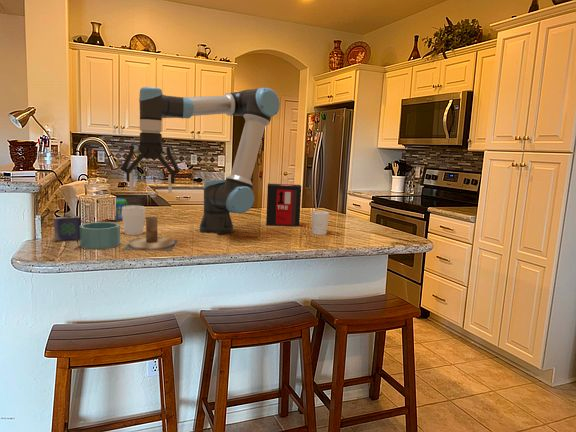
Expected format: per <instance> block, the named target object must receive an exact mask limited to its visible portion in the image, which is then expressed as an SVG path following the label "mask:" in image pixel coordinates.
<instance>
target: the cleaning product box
mask: <svg viewBox="0 0 576 432" xmlns="http://www.w3.org/2000/svg"><path fill="white" fill-rule="evenodd" d="M266 190H267V194H266V195H267V198H266V199H267V200H266V218H265V219H266V222H265V226H271V227H273V226H274V227H276V226H278V227H299V228H300V224H301V223H300V220H301V206H302V205H301V204H302V203H301V201H302V185H301V184H292V183H291V184H290V183H267V189H266Z"/></svg>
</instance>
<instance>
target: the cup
mask: <svg viewBox="0 0 576 432" xmlns="http://www.w3.org/2000/svg"><path fill="white" fill-rule="evenodd" d="M145 221H146V208H145V206H144V205H135V204H134V205H132V204H131V205H128V206H125V205H124V206H123V207H122V224H123V230H124V234H125V235H126V236H139V235H142V234H143V233H144V225H145Z"/></svg>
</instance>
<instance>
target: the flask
mask: <svg viewBox="0 0 576 432" xmlns="http://www.w3.org/2000/svg"><path fill="white" fill-rule="evenodd" d="M69 213H70V212H65V213H64V216H62V217H61V216H60V217H59V216H58V217H54V218H53V229H54V230H53V231H54V232H53V233H54V241H55V242H70V241H80V227H79V226H81V225H82V218H81V217H80V216H78V215H74V216H73V215H70V214H69Z"/></svg>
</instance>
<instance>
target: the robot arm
mask: <svg viewBox="0 0 576 432" xmlns="http://www.w3.org/2000/svg"><path fill="white" fill-rule="evenodd" d="M279 98H280V97H278V94H277V93H276V91H274V90H273V89H272V88H270V87H259V88H251V89H250V88H249V89H243V90H239V91H236V92H227V93H225V94H223V95H206V96H188V97H187V96H186V97H185V96H173V95H166V94H163V90H162V89H161V88H159V87H154V86H143V87H141V88H140V90H139V99H138V101H139V131H140V132H139V144H138V145H134V144H131V145H130V148H129V152H128V154H127V156H126V158H125V160H124V162H123V163H122V166H121V167H120V170H121V171H123V172H125V173H126V182H127V183H128V182H129V192H133V191H135V190H134V186H135V183H134V172H133V171H134V169H135V168H136V167H137V166H138V165H139V164H140V162H141V161H143V159H144V158H145V159H152V160H156V159H158V161H160V162H161V164H162V165H163V166H164V167H165V169H166V170H167V171H168V172H169V174H168V175H167V176H168V182H167V183H168V185H167V186H168V188H167V189H168V191H167V192H168V193H170V194H171V193H172V192H173V188H172V187H173V186H172V185H173V184H175V181H176V174H180V172H181V170H180V168H179V166H178V164H177V161H176V159H175V158H174V156H173V153H172V148H171V147H170V146H167V147H163V145H162V144H163V135H162V133H161V132H162V131H163V125H162V122H163V119H183V120H184V119H191V117H195V116H196V117H197V116H210V115H211V116H212V115H226V116H240V117H243V118H244V121H245V122H244V126H243V130H242V133H241V136H240V141H239V143H238V144H239V145H238V147H237V151H236V155H235V158H234V162H233V164H232V165H233V166H232V168H231V173H230V174H229V175H228V176H227V177H225V179H211V180H210V179H209V180H206V181H204V183H203V214H202V218H201V221H200V223H199V232H200V233H203V234H217V235H225V234H231V233H233V232H234V223H233V220H232V217H231V213H232V214H245V213H246V212H248V211H250V209H251V208H252V207H253V205H254V203H255V194H254V191H253V190H252V189H253V185H254V184H253V183H252V181H251V179H252V177H253V176H252V175H253V174H254V173H253V172H254V169H255V164H256V162H257V159H258V158H257V157H258V154H259V150H260V147H261V143H262V140H263V136H264V132H265V128H266V127H267V126H268V125H270V123H271V121H272V117H274V116H276V115H277V114H278V113H279V112H280V111H279V110H280V108H281V107H280V106H281V103H280V102H281V101H280V99H279ZM137 151H139V153H140V154H139V155H138V156H137V158H136V159H135V160H134V161H133V162H132V163H131V165H130V162H131V161H132V159H133V157H134V155H135V153H136V152H137ZM163 152H164V153H165V154H166V155H167V158H168V159H169V161H170V164H171V165H172V167H173V168H172V167H171V165H170V164H169V163H168V161H166V159H165V158H164V156H162V153H163Z"/></svg>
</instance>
